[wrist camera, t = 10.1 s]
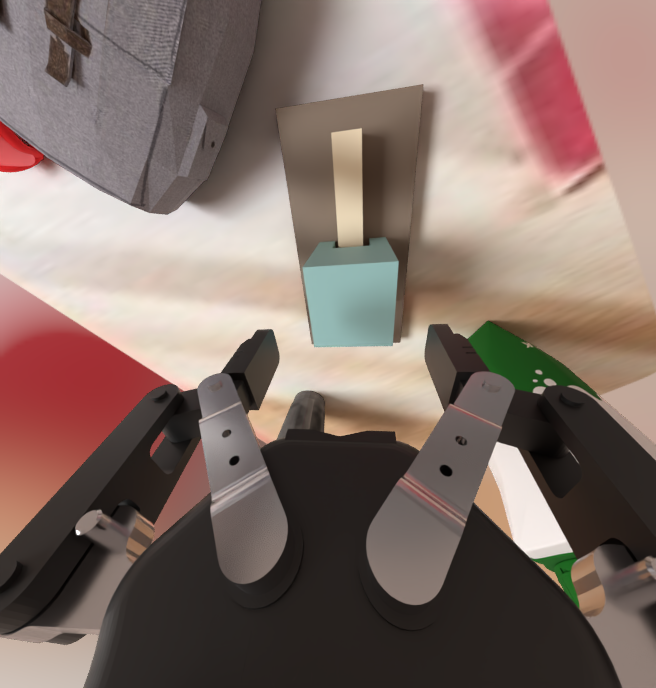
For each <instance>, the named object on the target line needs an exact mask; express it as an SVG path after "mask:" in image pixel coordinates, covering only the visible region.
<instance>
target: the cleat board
mask: <svg viewBox="0 0 656 688" xmlns="http://www.w3.org/2000/svg"><path fill="white" fill-rule="evenodd" d="M422 93H423V84H422V85H416V86H410V87H404V88H398V89H392V90H386V91H380V92H374V93H368V94H362V95H356V96H349V97H343V98H337V99H331V100H325V101H319V102H313V103H307V104H301V105H295V106H289V107H283V108H276V109H275V110H276V116H277V123H278V129H279V136H280V142H281V148H282V155H283V161H284V168H285V174H286V181H287V187H288V193H289V200H290V206H291V213H292V219H293V226H294V232H295V238H296V245H297V251H298V258H299V264H300V271H301V277H302V283H303V290H304V296H305V303H306V309H307V315H308V322H309V328H310V335H311V341H312V344H314V342H313V335H312V328H311V321H310V315H309V308H308V301H307V295H306V288H305V281H304V274H303V268H302V267H303V266H304V265H305V263H306V262H307V260H308V259H309V257H310V256H311V254H312V253H313V251H314V250H315V248H316V247H317V246H318V244H319V243H320V242H329V241H335V246H336V248H343V247H357V246H369V238H380V237H386V239H387V241H388V243H389V244H390V246H391V248H392V250H393V252H394V254H395V256H396V257H397V259H398V261H399V263H398V278H397V292H396V306H395V320H394V334H393V343H399V342H400V339H401V328H402V317H403V306H404V295H405V283H406V272H407V261H408V250H409V239H410V227H411V216H412V205H413V194H414V183H415V172H416V160H417V149H418V138H419V127H420V116H421V104H422Z"/></svg>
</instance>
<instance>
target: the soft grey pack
mask: <svg viewBox="0 0 656 688" xmlns="http://www.w3.org/2000/svg"><path fill="white" fill-rule="evenodd" d="M260 6H261V0H0V121H1V122H2V123H4V124H5V125H6V126H7V127H9V128H10V129H11V130H13V131H14V132H15V133H16V134H18V135H19V136H20V137H22V138H23V139H24V140H26V141H27V142H28V143H29V144H31V145H32V146H33V147H35V148H36V149H37V150H38V151H40V152H41V153H42V154H44V155H45V156H46V157H47V158H49V159H50V160H52V161H53V162H55V163H57V164H58V165H60V166H61V167H63V168H65V169H66V170H68V171H69V172H71V173H73V174H74V175H76V176H77V177H79V178H81V179H82V180H84V181H85V182H87V183H88V184H90V185H92V186H93V187H95V188H96V189H98V190H100V191H102V192H104V193H106V194H108V195H111V196H113V197H115V198H117V199H119V200H121V201H123V202H125V203H127V204H129V205H131V206H134V207H136V208H139V209H141V210H144V211H146V212H149V213H156V214H166V215H168V214H169V213H171V212H173V211H175V210H177V209H178V208H179V207H180V206H181V205H182V204H183V203H184V202H185V201H186V200H187V198H188V197H189V196H190V195H191V194H192V193H193V192H194V191H195V190H196V189H197V188H198V187H199V186H200V185H201V184H202V183H203V181H204V180H205V181H207V179H208V177H209V174H210V172H211V170H212V167H213V165H214V162H215V160H216V157H217V155H218V153H219V151H220V148H221V146H222V143H223V141H224V138H225V135H226V133H227V130H228V125H229V122H230V120H231V117H232V114H233V111H234V108H235V105H236V102H237V99H238V96H239V93H240V90H241V88H242V85H243V82H244V79H245V76H246V73H247V70H248V67H249V64H250V61H251V58H252V56H253V53H254V46H255V40H256V33H257V26H258V20H259V13H260Z"/></svg>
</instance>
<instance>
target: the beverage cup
mask: <svg viewBox="0 0 656 688" xmlns="http://www.w3.org/2000/svg"><path fill="white" fill-rule="evenodd" d="M324 405H325V401H324V399H323V397H322V396H321V395H320V394H318V393H316V392H313V391H302V392H300V393H298V394H297V395H296V396H295V399H294V401H293V403H292V404H291V407H290V409H289V412H288V414H287V416H286V419H285V421H284V423H283V426H282V428H281V431H280V433H279V435H278V438H277V439H281V438H284V437H286V433H287V430H288V429H313V430H317V431H320V432H324V420H325V409H324Z"/></svg>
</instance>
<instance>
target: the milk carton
mask: <svg viewBox="0 0 656 688" xmlns="http://www.w3.org/2000/svg"><path fill="white" fill-rule="evenodd" d="M468 341H469V342H470V343H471V345H472V346H473V348H474V349H475V350H476V352H477V354H478V355H479V356H480V358H481V359H482V360H483V362H484V363H485V365H486V366H487V367H488V369H489V370H490V372H492V373H496V374H498V375H501V376H503V377H505V378H506V379H508V380H509V381H510V382H511V383H512V384H513V386H514V388H515V389H518V390H522V391H527V392H532V393H537V394H542V393H543V391H544V389H545V388H546V387H548V386H552V385H561V386H567V387H571V388H574V389H577V390H579V391H581V392H583V393H585V394H587V395H589V396H590V397H592V398H593V399H594V400H595V401H597V402H598V403H599V404H600V405H601V406H602V407H603V408H604V409H605V410H606V411H607V412H608V413H609V414H610V415H611V416H612V417H613V418H614V419H615V420H616V421H617V422H618V423H619V424H620V425H621V426H622V427H623V428H624V429H625V430H626V431H627V432H628V433H629V434H630V435H631V436H632V437H633V438H634V439H635V440H636V441H637V442H638V443H639V444H640V445H641V446H642V447H643V448H644V449H645V450H646V451H647V452H648V453H649V454H650V455H651V456H652V457H653V458H654V459H655V460H656V445H655V444H654V443H653V442H652V441H651V440H650V439H649V438H648V437H647V436H645V435H644V434H643V433H642V432H641V431H640V430H639V429H637V428H636V427H635V426H634V425H633V424H632V423H631V422H629V421H628V420H627V419H626V418H625V417H624V416H622V415H621V414H620V413H619V412H618V411H617V410H616V409H614V408H613V407H612V406H611V405H610V404H609V403H607V402H606V401H605V400H604V399H603V398H602V397H601V396H599V395H598V394H597V393H596V392H595V391H594V390H592V389H591V388H590V387H589V386H588V385H587V384H586V383H584V382H583V381H582V380H581V379H580V378H579V377H577V376H576V375H575V374H574V373H573V372H572V371H571V370H569V369H568V368H567V367H566V366H564V365H563V364H562V363H561V362H559V361H558V360H556V359H554V358H553V357H551V356H550V355H548V354H546V353H545V352H543V351H542V350H540V349H538V348H537V347H535V346H533V345H532V344H530V343H528V342H526V341H524V340H523V339H521V338H519V337H517V336H515V335H513V334H512V333H510V332H508V331H506V330H504V329H503V328H501V327H499V326H497V325H495V324H493V323H492V322H490V321H487V322H486V323H485V324H484V325H483V326H482V327H480V328H479V329H478V330H477V331H476V332H475V333H474V334H473V335H472V336H471V337H469V338H468ZM570 452H571V451H570ZM572 455H573V454H572ZM575 459H576V458H575ZM577 462H578V461H577ZM488 465H489V467H490V469H491V472H492V474H493V476H494V478H495V480H496V482H497V485H498V487H499V490H500V493H501V496H502V500H503V503H504V507H505V511H506V514H507V518H508V522H509V526H510V529H511V532H512V537H513V540H514V542H515V543H516V544H517V545H518V546H519V547H520V548H521V549H522V550H523V551H524V552H525V553H526V554H527V555H528V556H529V557H530V558H531V559H532V560H533V561H535V562H538V563H540V564H544V566H545V567H546V568H547V569H549V570H551V571H553V572H555V574H556V576H557V578H558V581H559V583H560V584H561V586H562V588H563V590H564V592H565V593H566V594H567V595H568V596H569V597H570V598H571V599H572V601H573V602H574V603H575V604H576V605H577V607H578V608H579V601H578V597H577V593H576V590H575V588H574V585H573V582H572V578H571V569H572V566H573V564H574V563H575V562H576V561H577V558H576V556H575V555H574V553H573V551H572V549H571V547H570V545H569V543H568V541H567V540H566V538H565V536H564V534H563V532H562V530H561V528H560V527H559V525H558V523H557V521H556V519H555V517H554V515H553V513H552V512H551V510H550V508H549V506H548V504H547V502H546V500H545V498H544V497H543V495H542V493H541V491H540V489H539V487H538V485H537V484H536V482H535V480H534V478H533V476H532V474H531V472H530V470H529V469H528V467H527V465H526V463H525V461H524V459H523V457H522V455H521V454H520V452H519V450H518V448H516V447H513V446H509V445H506V444H502V443H499V442H496V445H495V447H494V450H493V453H492V455H491V458H490V460H489V463H488ZM579 609H580V608H579Z"/></svg>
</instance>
